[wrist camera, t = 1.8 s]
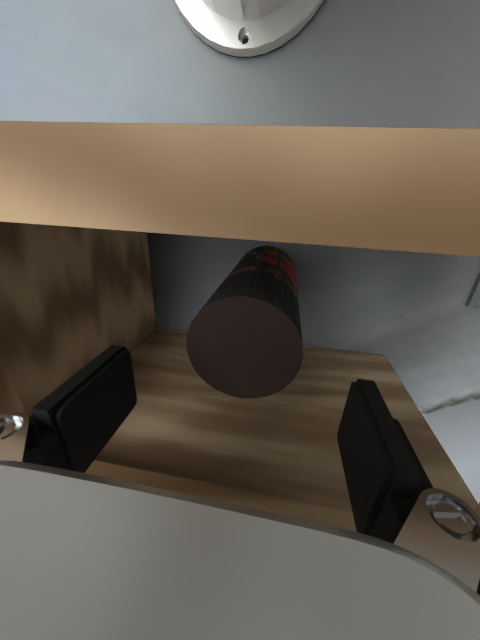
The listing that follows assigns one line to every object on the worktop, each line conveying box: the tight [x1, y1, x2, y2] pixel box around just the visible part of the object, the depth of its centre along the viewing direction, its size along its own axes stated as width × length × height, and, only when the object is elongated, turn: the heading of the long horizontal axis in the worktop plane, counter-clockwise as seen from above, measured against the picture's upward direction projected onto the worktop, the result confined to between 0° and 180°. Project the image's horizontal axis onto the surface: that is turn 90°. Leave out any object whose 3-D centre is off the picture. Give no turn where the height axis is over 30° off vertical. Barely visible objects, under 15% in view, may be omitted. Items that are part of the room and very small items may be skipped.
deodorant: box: [186, 246, 303, 398], centre depth 20 cm, size 6×6×15 cm
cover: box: [0, 121, 480, 532], centre depth 18 cm, size 17×27×19 cm, turn 87°
